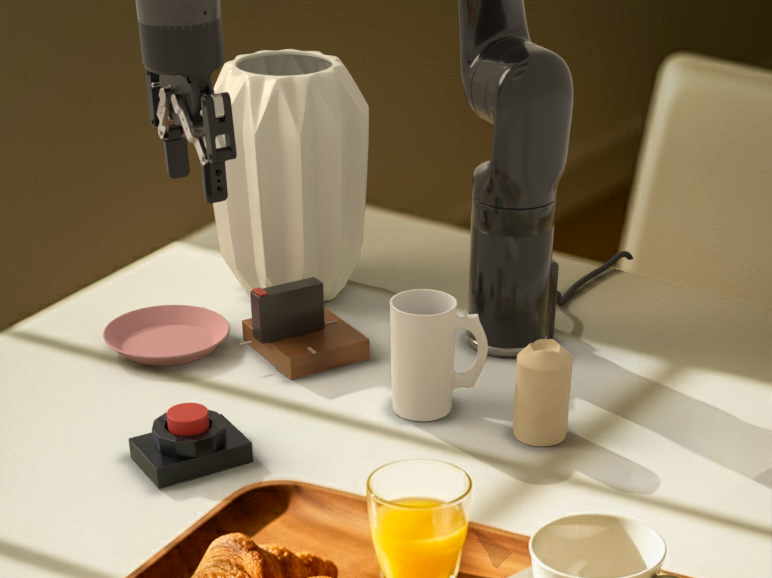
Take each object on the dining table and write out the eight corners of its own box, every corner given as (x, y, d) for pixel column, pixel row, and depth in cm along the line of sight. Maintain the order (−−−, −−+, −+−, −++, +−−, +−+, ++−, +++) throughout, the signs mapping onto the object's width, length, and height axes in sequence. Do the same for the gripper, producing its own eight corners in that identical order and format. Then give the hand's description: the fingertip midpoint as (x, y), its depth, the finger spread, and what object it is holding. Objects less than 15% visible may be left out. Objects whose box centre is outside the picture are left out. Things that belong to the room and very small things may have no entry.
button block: (222, 432, 137) (220, 397, 135) (253, 462, 132) (251, 426, 130) (130, 457, 133) (126, 422, 131) (158, 489, 128) (154, 452, 126)
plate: (83, 365, 150) (81, 348, 149) (135, 314, 162) (133, 299, 160) (204, 379, 147) (202, 363, 146) (248, 327, 159) (247, 311, 158)
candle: (563, 450, 135) (570, 359, 129) (509, 444, 136) (514, 353, 130) (569, 424, 139) (576, 335, 134) (516, 418, 140) (521, 330, 135)
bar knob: (315, 321, 154) (314, 274, 151) (325, 328, 153) (323, 280, 149) (252, 337, 151) (249, 288, 147) (261, 344, 149) (258, 295, 146)
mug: (385, 421, 140) (385, 313, 133) (393, 391, 145) (393, 287, 139) (482, 427, 139) (487, 319, 132) (486, 397, 144) (491, 292, 138)
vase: (404, 291, 168) (405, 64, 153) (282, 336, 157) (270, 96, 142) (305, 249, 180) (296, 34, 164) (184, 287, 169) (163, 61, 153)
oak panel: (318, 321, 160) (317, 300, 159) (370, 359, 152) (370, 338, 150) (218, 345, 155) (216, 324, 153) (266, 387, 146) (264, 364, 145)
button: (199, 414, 133) (197, 398, 132) (216, 431, 130) (215, 415, 129) (161, 424, 131) (159, 408, 130) (178, 441, 128) (176, 425, 127)
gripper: (252, 22, 118) (265, 202, 127) (184, -7, 128) (200, 162, 137) (173, 34, 115) (192, 218, 124) (109, 3, 125) (131, 175, 134)
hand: (196, 188), depth 131 cm, fingers open, 8 cm apart
